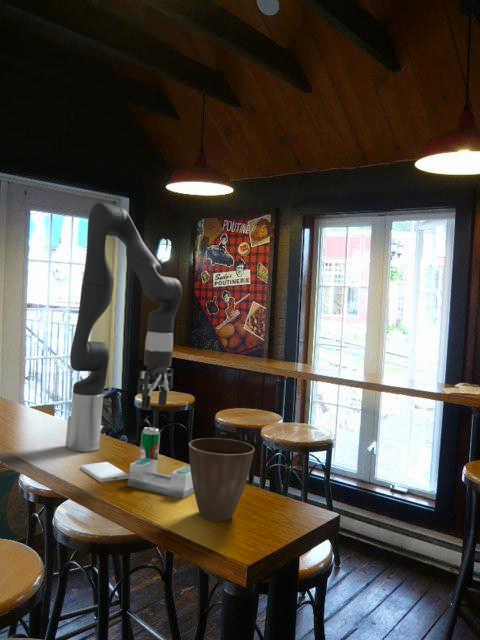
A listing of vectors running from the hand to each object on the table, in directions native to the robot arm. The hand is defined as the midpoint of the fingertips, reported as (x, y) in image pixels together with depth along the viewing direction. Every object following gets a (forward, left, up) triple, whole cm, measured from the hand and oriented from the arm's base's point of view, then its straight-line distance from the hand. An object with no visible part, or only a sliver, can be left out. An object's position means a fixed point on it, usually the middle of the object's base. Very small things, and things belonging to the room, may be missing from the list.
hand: (154, 407), depth 151 cm
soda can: (-1, +1, -18) cm, 18 cm away
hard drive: (-9, -8, -19) cm, 22 cm away
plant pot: (+28, -17, -18) cm, 38 cm away
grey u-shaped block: (+9, -8, -18) cm, 22 cm away
